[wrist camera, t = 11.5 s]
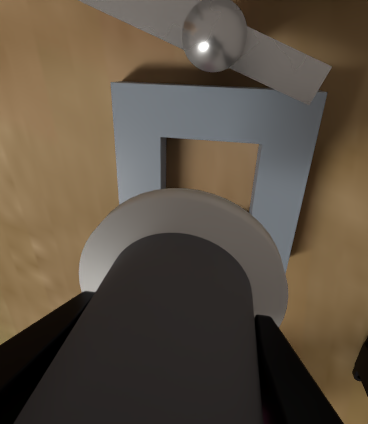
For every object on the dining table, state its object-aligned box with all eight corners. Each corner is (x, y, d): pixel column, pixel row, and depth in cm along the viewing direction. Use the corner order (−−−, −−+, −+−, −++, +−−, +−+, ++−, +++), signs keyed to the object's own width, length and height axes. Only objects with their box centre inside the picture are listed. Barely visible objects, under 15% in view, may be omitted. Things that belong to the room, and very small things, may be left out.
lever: (46, -71, 14) (-64, -153, 9) (315, 57, 15) (359, 50, 10) (38, -11, 16) (-64, -52, 10) (287, 106, 16) (313, 124, 11)
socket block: (319, 90, 16) (327, 92, 14) (281, 260, 20) (285, 274, 19) (121, 81, 17) (110, 82, 16) (130, 242, 22) (122, 254, 20)
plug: (290, 175, 9) (608, 746, 1) (264, 323, 12) (323, 795, 4) (100, 164, 10) (-363, 490, 2) (116, 305, 13) (-68, 673, 5)
